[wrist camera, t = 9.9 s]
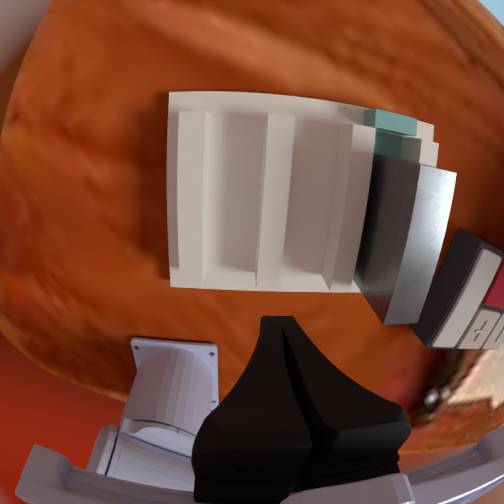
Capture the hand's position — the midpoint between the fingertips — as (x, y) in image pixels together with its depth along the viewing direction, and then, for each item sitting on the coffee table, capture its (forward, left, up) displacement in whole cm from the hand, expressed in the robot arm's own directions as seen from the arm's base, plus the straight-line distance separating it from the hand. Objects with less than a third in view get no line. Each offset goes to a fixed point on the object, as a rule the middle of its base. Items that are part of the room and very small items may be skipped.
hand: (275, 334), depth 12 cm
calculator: (-4, -24, -11) cm, 27 cm away
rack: (+4, -3, -10) cm, 11 cm away
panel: (+3, -8, -9) cm, 13 cm away
